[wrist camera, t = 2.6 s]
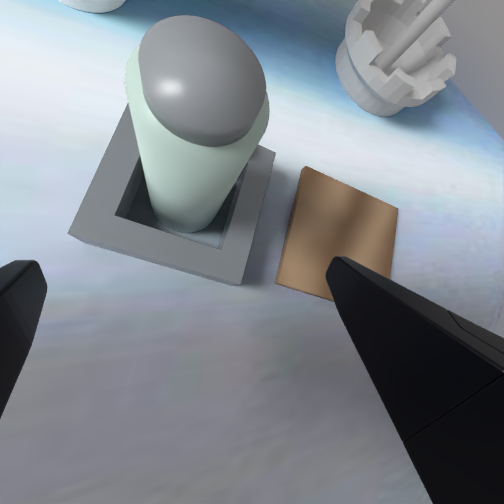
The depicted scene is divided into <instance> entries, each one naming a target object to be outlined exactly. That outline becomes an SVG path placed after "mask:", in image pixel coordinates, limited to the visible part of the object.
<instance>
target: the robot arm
mask: <svg viewBox="0 0 504 504" xmlns="http://www.w3.org/2000/svg"><path fill="white" fill-rule="evenodd" d="M325 277H326V281H327V284H328V286H329V289H330V291H331V294H332V297H333V299H334V302H335V305H336V307H337V310H338V312H339V315H340V317H341V319H342V321H343V323H344V325H345V327H346V329H347V331H348V333H349V335H350V337H351V339H352V341H353V343H354V345H355V347H356V349H357V351H358V353H359V355H360V357H361V359H362V361H363V363H364V365H365V367H366V369H367V371H368V373H369V375H370V377H371V379H372V381H373V383H374V385H375V387H376V389H377V391H378V394H379V396H380V398H381V400H382V402H383V404H384V406H385V408H386V410H387V412H388V414H389V416H390V418H391V420H392V422H393V424H394V426H395V428H396V430H397V432H398V434H399V436H400V438H401V440H402V441H403V444H404V446H405V448H406V450H407V452H408V454H409V456H410V458H411V460H412V462H413V464H414V467H415V469H416V471H417V473H418V475H419V477H420V479H421V481H422V483H423V485H424V487H425V489H426V491H427V493H428V495H429V497H430V499H431V501H432V503H433V504H504V338H502V337H500V336H498V335H496V334H494V333H492V332H490V331H488V330H486V329H484V328H482V327H480V326H478V325H476V324H474V323H472V322H470V321H468V320H466V319H464V318H462V317H460V316H458V315H457V314H455V313H453V312H451V311H449V310H446V309H445V308H443V307H441V306H439V305H437V304H435V303H434V302H432V301H430V300H428V299H426V298H424V297H422V296H420V295H418V294H416V293H415V292H413V291H411V290H409V289H407V288H405V287H403V286H401V285H399V284H397V283H396V282H394V281H392V280H390V279H388V278H386V277H384V276H382V275H380V274H378V273H376V272H375V271H373V270H371V269H369V268H367V267H365V266H363V265H361V264H359V263H357V262H356V261H354V260H352V259H350V258H348V257H346V256H335V257H333V259H332V260H331V262H330V265H329V267H328V269H327V271H326V274H325ZM46 293H47V283H46V280H45V278H44V275H43V273H42V270H41V268H40V265H39V263H38V262H37V261H35V260H15V261H13V262H11V263H9V264H7V265H5V266H3V267H1V268H0V418H1V416H2V413H3V411H4V409H5V406H6V404H7V402H8V399H9V397H10V395H11V393H12V390H13V388H14V386H15V383H16V381H17V379H18V376H19V374H20V372H21V369H22V367H23V365H24V362H25V360H26V358H27V355H28V353H29V350H30V348H31V345H32V342H33V339H34V336H35V332H36V329H37V325H38V322H39V318H40V315H41V311H42V308H43V304H44V300H45V297H46Z"/></svg>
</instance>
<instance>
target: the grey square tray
mask: <svg viewBox="0 0 504 504" xmlns="http://www.w3.org/2000/svg"><path fill="white" fill-rule="evenodd" d="M275 155H276V153H275V152H273V151H271V150H269V149H267V148H265V147H262V146H260V145H257V146H256V148H255V150H254V151H253V153H252V155H251V157H250V158H249V160H248V162H247V163H246V165H245V167H244V168H243V170H242V172H241V173H240V175H239V177H238V178H237V179H239V180H238V183H237V186H236V190H235V193H234V196H233V200H232V203H231V206H230V210H229V213H228V216H227V219H226V223H225V226H224V229H223V233H222V236H221V239H220V243H219V246H218V249H216V248H213V247H210V246H207V245H204V244H201V243H198V242H195V241H191V240H188V239H185V238H182V237H179V236H176V235H173V234H170V233H167V232H164V231H161V230H158V229H155V228H152V227H149V226H145V225H142V224H139V223H136V222H133V221H130V220H127V219H126V217H127V215H128V212H129V210H130V208H131V205H132V203H133V200H134V198H135V195H136V193H137V190H138V188H139V186H140V183H141V181H142V178H143V176H144V170H143V166H142V161H141V157H140V152H139V148H138V143H137V139H136V134H135V130H134V125H133V121H132V116H131V112H130V108H129V103H128V104H127V106H126V108H125V110H124V113H123V115H122V117H121V119H120V121H119V123H118V126H117V128H116V130H115V132H114V134H113V136H112V139H111V141H110V143H109V145H108V147H107V149H106V151H105V154H104V156H103V158H102V160H101V162H100V164H99V167H98V169H97V171H96V173H95V175H94V177H93V180H92V182H91V184H90V186H89V188H88V190H87V192H86V195H85V197H84V199H83V201H82V203H81V205H80V208H79V210H78V212H77V214H76V216H75V218H74V221H73V223H72V225H71V227H70V229H69V231H68V234H69V235H71V236H73V237H75V238H77V239H78V240H80V241H82V242H84V243H87V244H91V245H94V246H97V247H101V248H104V249H108V250H111V251H115V252H118V253H121V254H125V255H128V256H132V257H135V258H139V259H142V260H146V261H149V262H152V263H156V264H159V265H163V266H166V267H170V268H173V269H177V270H180V271H183V272H187V273H190V274H194V275H197V276H201V277H204V278H207V279H211V280H214V281H218V282H221V283H225V284H228V285H240V284H241V281H242V277H243V274H244V270H245V266H246V262H247V259H248V255H249V251H250V248H251V244H252V240H253V236H254V233H255V229H256V225H257V222H258V218H259V214H260V210H261V207H262V203H263V199H264V195H265V192H266V188H267V184H268V181H269V177H270V173H271V169H272V166H273V162H274V158H275Z"/></svg>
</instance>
